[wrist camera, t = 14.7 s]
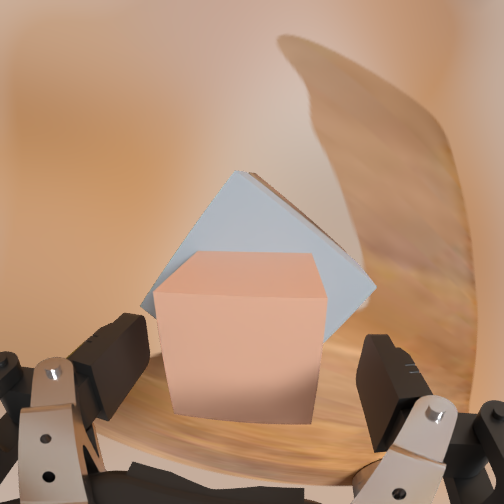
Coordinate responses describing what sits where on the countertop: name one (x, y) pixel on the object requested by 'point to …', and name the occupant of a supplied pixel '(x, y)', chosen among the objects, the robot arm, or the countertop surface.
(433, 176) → the countertop surface
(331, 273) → the upper block
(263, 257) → the terracotta cube
